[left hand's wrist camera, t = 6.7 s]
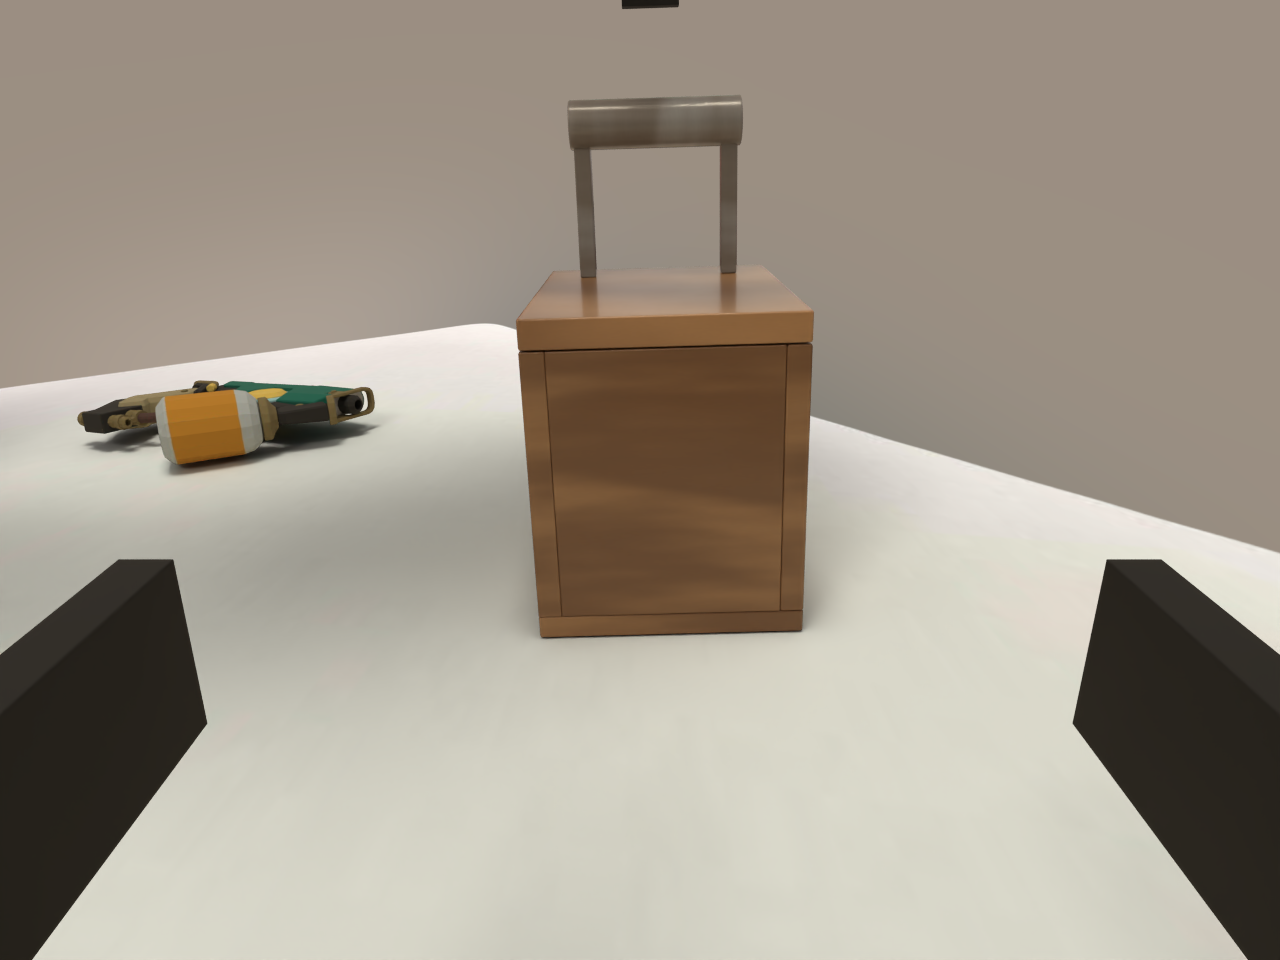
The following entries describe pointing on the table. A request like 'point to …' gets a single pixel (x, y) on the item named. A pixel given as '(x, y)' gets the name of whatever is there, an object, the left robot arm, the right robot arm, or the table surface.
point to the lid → (660, 297)
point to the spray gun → (225, 415)
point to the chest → (668, 487)
